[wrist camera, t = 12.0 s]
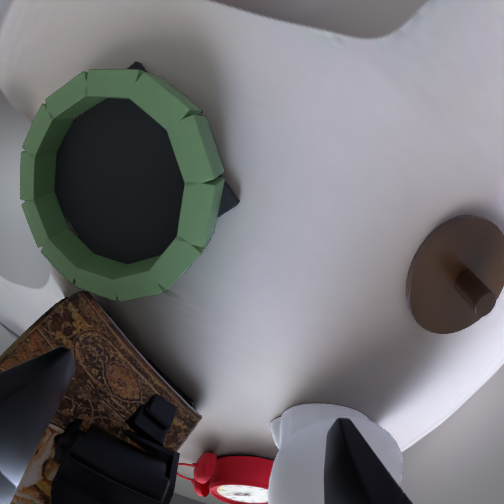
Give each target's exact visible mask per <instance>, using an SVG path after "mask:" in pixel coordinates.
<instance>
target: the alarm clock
mask: <svg viewBox="0 0 504 504" xmlns="http://www.w3.org/2000/svg"><path fill="white" fill-rule="evenodd" d="M273 463H274V461H272V460H269V459H265V458H259V457H252V456H227V457H222V458H218V459H217V455H216V454H214V453H210V452H208V453H205V454H203V455H202V456H201V457H200V458H199V459H198V461H197V463H193V465H192V464H186V463H178V465H187V466H192V467H195V469H194V480H193V479H190V478H187V477H184V476H182V475H180V474H179V473H178V472H177V475H178V476H180V477H182V478H185V479H188V480H191V481H192V483H193V487H194V490H195V492H196V493H197V494H198V495H199V496H203V497H206V496H208V494H209V492H210V494H211V495H212V496H213V497H215V498H217V499H219V500H221V501H223V502H226V503H229V504H268V490H269V480H270V476H271V471H272V467H273Z"/></svg>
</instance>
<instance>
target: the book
mask: <svg viewBox="0 0 504 504" xmlns="http://www.w3.org/2000/svg"><path fill="white" fill-rule="evenodd" d="M60 346H63V347H66V348H68V349H70V350H71V351H72V353H73V357H74V362H75V373H74V375H73V377H72V379H71V382H70V384H69V386H68V388H67V390H66V393H65V395H64V397H63V400H62V402H61V404H60V406H59V408H58V410H57V412H56V413H55V415H54V417H53V419H52V420H51V422H50V424H49V426H48V428H47V429H46V431H45V433H44V435H43V437H42V439H41V440H40V442H39V444H38V446H37V448H36V450H35V452H34V454H33V456H32V458H31V460H30V462H29V464H28V466H27V468H26V470H25V472H24V474H23V476H22V478H21V480H20V482H19V484H18V487H17V489H16V491H15V493H14V496H13V498H12V500H11V502H10V504H52V501H51V483H52V481H53V479H54V477H55V475H56V473H57V471H58V469H59V466H60V465H59V464H58V463H56V462H55V461H53V459H54V455H55V449H56V447H55V444H54V441H53V439H54V437H55V435H58V434H61V433H64V431H65V430H66V428H67V427H68V425H69V424H70V422H74V420H75V419H76V418H79V419H84V420H83V421H82V423H81V425H80V427H79V429H80V430H82V431H83V432H85V433H86V432H87V430H88V429H89V427H90V426H91V424H92V423H93V422H94V423H95V424H97V425H98V426H100V427H102V428H103V429H105V430H107V431H108V432H110V433H112V434H114V435H115V436H117V437H119V438H121V439H122V440H124V441H126V442H128V443H130V444H132V445H133V446H135V447H137V448H139V449H141V450H143V451H145V450H144V449H142V448H141V447H140V446H138V445H137V444H136V443H135V442H133V441H132V440H131V439H130V438H128V437H127V436H126V435H125V434H124V433H122V430H128V429H129V430H131V431H133V432H135V431H134V430H133V429H131V428H130V427H129V426H128V425H127V424H126V423H124V421H126V420H128V419H129V418H130V417H131V416H132V415H133V413H134V412H135V411H136V410H137V408H138V407H139V406H140V405H142V404H146V403H147V401H148V400H149V399H150V398H151V396H153V395H155V394H156V393H157V394H158V395H160V396H161V397H163V398H164V399H166V400H167V401H168V402H170V403H171V404H173V405H174V406H176V407H177V412H176V415H175V418H174V420H173V423H172V426H171V428H170V429H169V430H168V433H167V436H166V439H165V441H164V444H163V447H165V448H167V449H169V450H171V451H176V452H177V451H178V450H179V448H180V447H181V446H182V444H183V443H184V442H185V440H186V439H187V438H188V436H189V435H190V434H191V432H192V431H193V430H194V428H195V427H196V426H197V424H198V423H199V421H200V420H201V419H202V416H201V415H200V414H199V413H198V412H197V411H196V410H194V409H193V408H192V407H191V406H190V405H189V404H188V403H187V402H186V401H185V400H184V399H183V398H182V397H181V396H180V395H179V394H178V393H177V392H176V391H175V390H174V389H173V388H172V387H171V386H170V385H169V384H168V383H167V382H166V381H165V380H164V379H163V378H162V377H161V376H160V374H159V373H158V372H157V371H156V370H155V369H154V368H153V367H152V366H151V365H150V364H149V363H148V361H147V360H146V359H145V358H144V357H143V356H142V355H141V354H140V352H139V351H138V350H137V349H136V348H135V347H134V346H133V344H132V343H131V342H130V341H129V340H128V338H127V337H126V336H125V335H124V334H123V332H122V331H121V330H120V329H119V328H118V326H117V325H116V324H115V323H114V322H113V320H112V319H111V318H110V317H109V316H108V315H107V313H106V312H105V311H104V310H103V309H102V307H101V306H100V305H99V304H98V303H97V301H96V300H95V299H94V298H93V297H92V295H91V294H90V293H88V292H86V291H80V292H77V293H75V294H73V295H72V296H70V297H69V298H68V297H67V298H64V299H62V300H61V301H59V302H58V303H56V304H55V305H54V306H52V307H51V308H50V309H49V310H48V311H47V312H46V313H44V314H43V315H42V316H41V317H40V318H39V319H38V320H37V321H36V322H35V323H34V324H33V325H32V326H30V327H29V328H28V329H27V330H26V331H25V332H24V333H23V334H22V335H21V336H20V337H19V338H18V339H17V340H16V341H15V342H14V343H13V344H12V345H11V346H10V347H9V348H8V349H7V350H6V351H5V352H4V353H3V354H2V355H1V356H0V372H2V371H5V370H7V369H9V368H12V367H14V366H16V365H19V364H21V363H23V362H25V361H28V360H30V359H32V358H35V357H37V356H39V355H42V354H44V353H46V352H48V351H51V350H53V349H55V348H57V347H60ZM135 433H136V432H135ZM145 452H146V451H145Z"/></svg>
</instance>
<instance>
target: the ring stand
mask: <svg viewBox="0 0 504 504" xmlns="http://www.w3.org/2000/svg"><path fill="white" fill-rule="evenodd" d="M503 286H504V235H503V234H502V232H501V231H500V229H499V228H498V227H497V226H496V225H494V224H493V223H492V222H490V221H488V220H486V219H485V218H483V217H480V216H475V215H464V216H459V217H456V218H453V219H451V220H449V221H447V222H445V223H443V224H442V225H441V226H439V227H438V228H437V229H436V230H434V231H433V232H432V233H431V234H430V235H429V236H428V237H427V239H426V240H425V241H424V242H423V244H422V245H421V246H420V248H419V249H418V251H417V253H416V255H415V257H414V259H413V261H412V263H411V266H410V269H409V272H408V276H407V282H406V299H407V304H408V307H409V309H410V311H411V313H412V315H413V317H414V319H415V320H416V321H417V323H418V324H419V325H420V326H421V327H423V328H424V329H426V330H428V331H430V332H433V333H438V334H448V333H454V332H457V331H460V330H463V329H465V328H467V327H469V326H471V325H472V324H474V323H475V322H476V321H478V320H479V319H480V318H481V317H483V316H485V315H487V314H488V313H490V312H491V310H492V309H493V307H494V306H495V303H496V300H497V298H498V297H499V295H500V293H501V291H502V289H503Z"/></svg>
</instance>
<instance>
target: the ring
mask: <svg viewBox="0 0 504 504" xmlns="http://www.w3.org/2000/svg"><path fill="white" fill-rule="evenodd" d="M107 98H118V99H131V100H132V101H133V102H134V103H135V104H137V105H138V106H139V107H140V108H141V109H142V110H144V111H145V112H146V113H147V114H148V115H150V116H151V117H152V118H153V119H154V120H155V121H157V122H158V123H159V124H160V125H161V126H162V127H164V128H165V129H166V130H167V132H168V135H169V138H170V141H171V144H172V147H173V150H174V153H175V156H176V159H177V162H178V165H179V168H180V171H181V174H182V177H183V179H184V182H185V186H184V192H183V198H182V204H181V211H180V218H179V225H178V232H177V237H176V238H175V239H174V240H173V242H172V243H171V244H170V245H169V246H168V248H167V249H166V250H165V251H164V252H163V254H162V255H160V256H156V257H153V258H149V259H145V260H142V261H138V262H135V263H131V264H125V263H122V262H119V261H115V260H112V259H109V258H106V257H102V256H99V255H96V254H94V253H93V252H92V251H91V250H90V249H89V248H88V247H87V246H86V245H85V244H84V243H83V242H82V241H81V240H80V239H79V238H78V237H77V236H76V235H75V234H74V233H73V232H72V231H71V230H70V229H69V228H68V226H67V223H66V221H65V218H64V216H63V213H62V210H61V208H60V205H59V202H58V200H57V197H56V194H55V170H56V154H57V151H58V149H59V147H60V145H61V143H62V141H63V139H64V137H65V135H66V133H67V132H68V130H69V128H70V126H71V124H72V123H73V121H74V119H75V118H76V117H77V116H79V115H81V114H82V113H84V112H85V111H87V110H88V109H90V108H92V107H93V106H95V105H97V104H98V103H100V102H102V101H103V100H105V99H107ZM45 101H46V104H42V105H41V107H40V109H39V111H38V113H37V115H36V117H35V119H34V121H33V123H32V126H31V128H30V130H29V132H28V134H27V137H26V139H25V141H24V144H23V146H22V147H23V149H24V150H25V151H23V152H21V165H20V199H21V200H24V201H26V202H24V203H23V204H22V208H23V211H24V214H25V216H26V219H27V222H28V224H29V227H30V229H31V232H32V234H33V237H34V239H35V242H36V244H37V246H38V248H39V247H41V246H43V248H42V250H41V253H42V254H43V255H44V256H45V257H46V258H47V259H48V260H49V262H50V263H51V264H52V265H53V266H54V267H55V268H56V269H57V270H58V271H59V272H60V273H61V274H62V275H63V276H64V277H65V278H66V279H67V280H68V281H69V282H70V283H71V284H73V283H74V282H75V284H76V287H78V288H80V289H83V290H86V291H88V292H91V293H94V294H97V295H99V296H102V297H105V298H108V299H110V300H113V301H116V300H117V299H119V301H120V302H123V301H128V300H133V299H137V298H142V297H147V296H152V295H157V294H161V293H163V292H164V291H165V289H166V290H169V288H170V287H171V286H172V285H173V284H174V283H175V282H176V281H177V280H178V279H179V277H180V276H181V275H182V274H183V273H184V272H185V271H186V270H187V269H188V268H189V267H190V265H191V264H192V263H193V262H194V261H195V260H196V259H197V258H198V257H199V256H200V255H201V254H202V252H203V250H204V249H205V247H206V246H207V244H208V243H209V241H210V240H211V237H212V235H213V234H214V231H215V226H216V221H217V216H218V211H219V206H220V201H221V196H222V191H223V186H224V181H225V178H222V177H218V176H219V175H221V174H222V173H224V169H223V166H222V163H221V160H220V157H219V153H218V150H217V147H216V144H215V141H214V138H213V135H212V132H211V129H210V126H209V123H208V120H207V117H206V116H200V114H201V113H202V110H201V109H200V108H199V107H197V106H196V105H195V104H194V103H193V102H191V101H190V100H189V99H188V98H187V97H185V96H184V95H183V94H182V93H180V92H179V91H178V90H177V89H175V88H174V87H173V86H172V85H170V84H169V83H168V82H167V81H165V80H164V79H163V78H161V77H158V76H156V75H153V74H150V73H147V72H144V71H141V70H136V69H92V70H89V71H88V72H82V73H81V74H79V75H78V76H76V77H75V78H73V79H72V80H71V81H69V82H68V83H66V84H65V85H64V86H62V87H61V88H60V89H58V90H57V91H56V92H54V93H53V94H52V95H51V96H49V97H48V98H47V99H46V100H45Z"/></svg>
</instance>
